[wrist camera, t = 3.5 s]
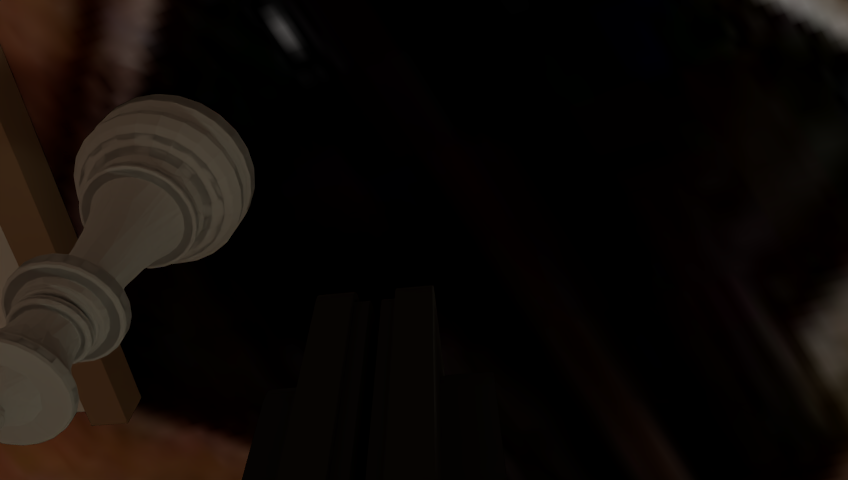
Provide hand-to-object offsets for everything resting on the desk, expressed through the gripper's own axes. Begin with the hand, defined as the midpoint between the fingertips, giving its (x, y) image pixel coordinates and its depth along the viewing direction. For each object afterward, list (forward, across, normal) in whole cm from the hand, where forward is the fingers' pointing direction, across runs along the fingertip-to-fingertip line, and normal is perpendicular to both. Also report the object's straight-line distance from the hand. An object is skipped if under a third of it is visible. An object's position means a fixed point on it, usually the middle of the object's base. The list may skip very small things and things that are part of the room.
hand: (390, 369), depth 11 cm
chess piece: (+10, +6, +1) cm, 12 cm away
